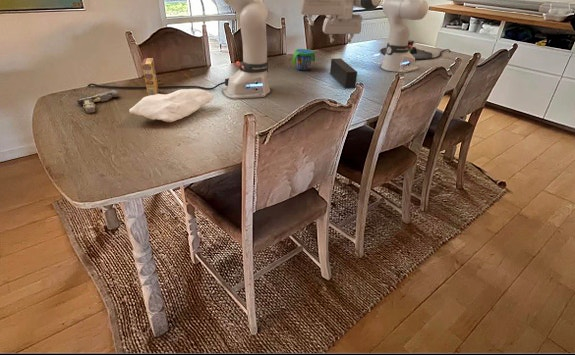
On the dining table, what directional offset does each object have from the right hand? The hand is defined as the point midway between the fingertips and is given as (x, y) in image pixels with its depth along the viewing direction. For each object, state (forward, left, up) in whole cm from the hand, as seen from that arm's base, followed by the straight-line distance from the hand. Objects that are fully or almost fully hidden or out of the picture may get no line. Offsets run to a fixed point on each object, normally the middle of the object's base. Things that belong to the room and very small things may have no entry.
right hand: (340, 42), depth 193 cm
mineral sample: (-74, -26, -18) cm, 81 cm away
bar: (+2, +8, -18) cm, 20 cm away
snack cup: (+12, -17, -18) cm, 27 cm away
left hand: (+21, +13, +12) cm, 27 cm away
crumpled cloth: (+94, +20, -18) cm, 98 cm away
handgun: (+120, -2, -18) cm, 121 cm away
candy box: (+97, -5, -18) cm, 99 cm away
